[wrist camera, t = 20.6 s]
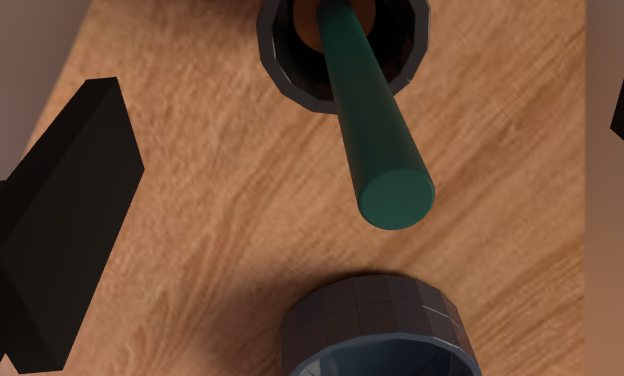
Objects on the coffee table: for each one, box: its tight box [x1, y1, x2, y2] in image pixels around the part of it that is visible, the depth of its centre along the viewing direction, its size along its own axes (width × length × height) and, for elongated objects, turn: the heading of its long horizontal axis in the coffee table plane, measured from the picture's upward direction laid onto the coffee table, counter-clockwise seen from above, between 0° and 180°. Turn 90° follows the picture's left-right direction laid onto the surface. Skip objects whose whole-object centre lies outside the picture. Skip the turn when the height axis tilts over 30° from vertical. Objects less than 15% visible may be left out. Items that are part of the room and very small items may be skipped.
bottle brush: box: [291, 0, 435, 230], centre depth 18 cm, size 4×4×19 cm
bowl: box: [275, 274, 482, 376], centre depth 39 cm, size 15×15×6 cm
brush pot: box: [256, 0, 431, 115], centre depth 23 cm, size 6×6×9 cm
